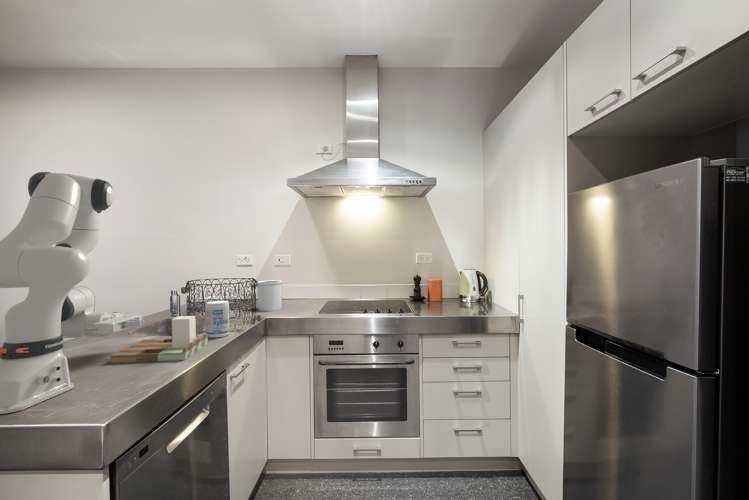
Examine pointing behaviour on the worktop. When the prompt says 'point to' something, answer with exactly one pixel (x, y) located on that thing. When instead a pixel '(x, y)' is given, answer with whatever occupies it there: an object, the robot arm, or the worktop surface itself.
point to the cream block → (183, 331)
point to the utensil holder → (269, 295)
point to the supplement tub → (217, 318)
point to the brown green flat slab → (158, 351)
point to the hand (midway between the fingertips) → (142, 322)
